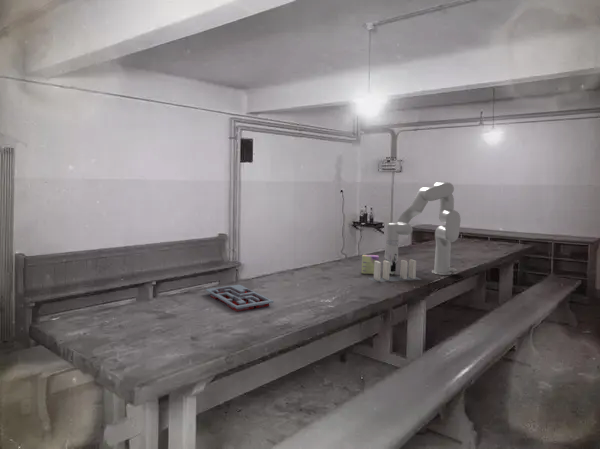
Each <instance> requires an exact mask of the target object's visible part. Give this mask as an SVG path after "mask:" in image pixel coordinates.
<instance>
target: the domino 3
mask: <svg viewBox="0 0 600 449" xmlns="http://www.w3.org/2000/svg"><path fill="white" fill-rule="evenodd" d="M394 260H395V259H394ZM388 261H389V262H390V272H389V275H394V274H395V271H394V272H391V265H392V264H391V261H390V260H388ZM393 262H395V261H393Z"/></svg>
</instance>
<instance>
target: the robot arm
mask: <svg viewBox="0 0 600 449" xmlns="http://www.w3.org/2000/svg"><path fill="white" fill-rule="evenodd" d="M454 190H455V188H454V185H453V184H452V183H451V182H446V181H436V182H435V183H433V185H432V186H431V187H428V186H424V187H420V188H419V190H418V191H417V193H416V195H415V196H414V198H413V200H412V201H411V203H410V204H409V206H408V207H407V208H406V209H405V210H404V211H403V213H401V214H400V216H399V218H398V219H397V221H396V222H389V223H387V225H386V244H385V247H384V248H385V250H384V259H385V260H386V261H388V260H390V261H391V264H392V265H391V272H394V273H395V272H396V271H397V270H396V269H397V263H399V240H400V238H399V237H400V236H399V235H401V236H402V235H403V236H409V235H411V234H412V233H413V227H412V225H411V224H409V223H410V221H412V220H413V219H414V218H416V217H417V216H419V215H421V214H422V213H423V211H424V209H425V207H426V206H427V204H428V202H434V201H438V200H439V202H440V203H439V211H438V212H439V213H438V220H439V221H440V222H441V223H443V224H441V225H439V226H437V227H436V229H435V232H434V237H435V238H434V239H435V252H434V254H435V255H434V267H433V268H434V269H432V270H431V274H435V275H439V276H449V275H452V272H454V273H458V272H457V271H458V270H457V268H452V267H451V266H450V264H451V251H452V248H451V247H452V243H454V242H456V241H457V240H458V239H459V235H460V227H461V215H460V213H459V211H457V210H455V208H454V207H455V198H454V195H453V192H454ZM444 224H445V225H444ZM394 259H395V260H394ZM393 261H395V262H393Z"/></svg>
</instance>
